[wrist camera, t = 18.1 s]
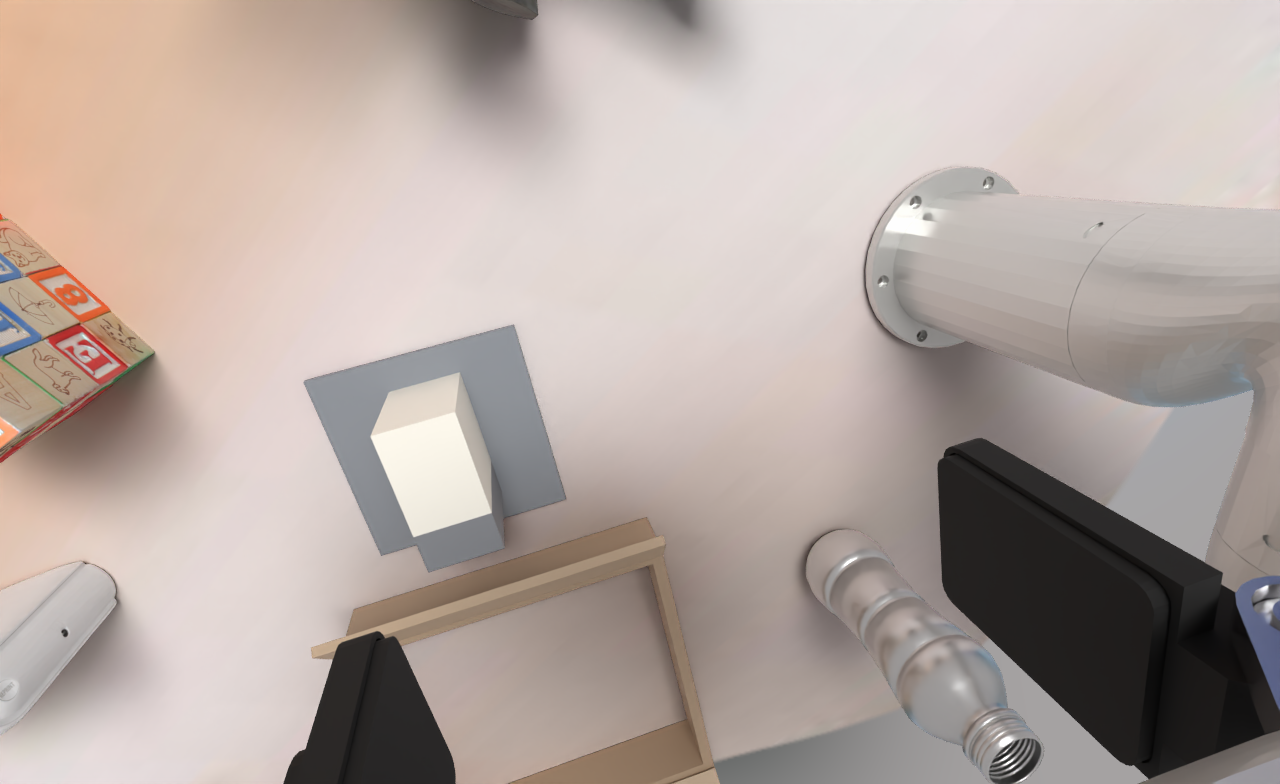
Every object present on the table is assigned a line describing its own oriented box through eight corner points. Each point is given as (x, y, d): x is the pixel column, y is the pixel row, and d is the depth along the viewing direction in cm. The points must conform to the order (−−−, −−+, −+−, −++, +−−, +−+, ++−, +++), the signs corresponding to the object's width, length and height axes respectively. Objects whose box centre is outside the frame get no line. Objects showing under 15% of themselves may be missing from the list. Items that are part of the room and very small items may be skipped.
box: (459, 372, 41) (455, 412, 34) (502, 491, 44) (504, 548, 38) (388, 392, 40) (370, 436, 34) (437, 511, 44) (428, 572, 37)
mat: (513, 324, 41) (513, 326, 40) (565, 496, 46) (566, 499, 45) (305, 380, 39) (303, 382, 39) (382, 552, 44) (381, 555, 44)
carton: (638, 482, 47) (664, 538, 40) (703, 746, 57) (733, 827, 50) (337, 574, 44) (309, 652, 37) (463, 834, 54) (460, 933, 47)
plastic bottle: (802, 598, 54) (965, 825, 36) (790, 533, 51) (959, 741, 33) (871, 573, 55) (1066, 782, 36) (863, 507, 52) (1068, 696, 34)
